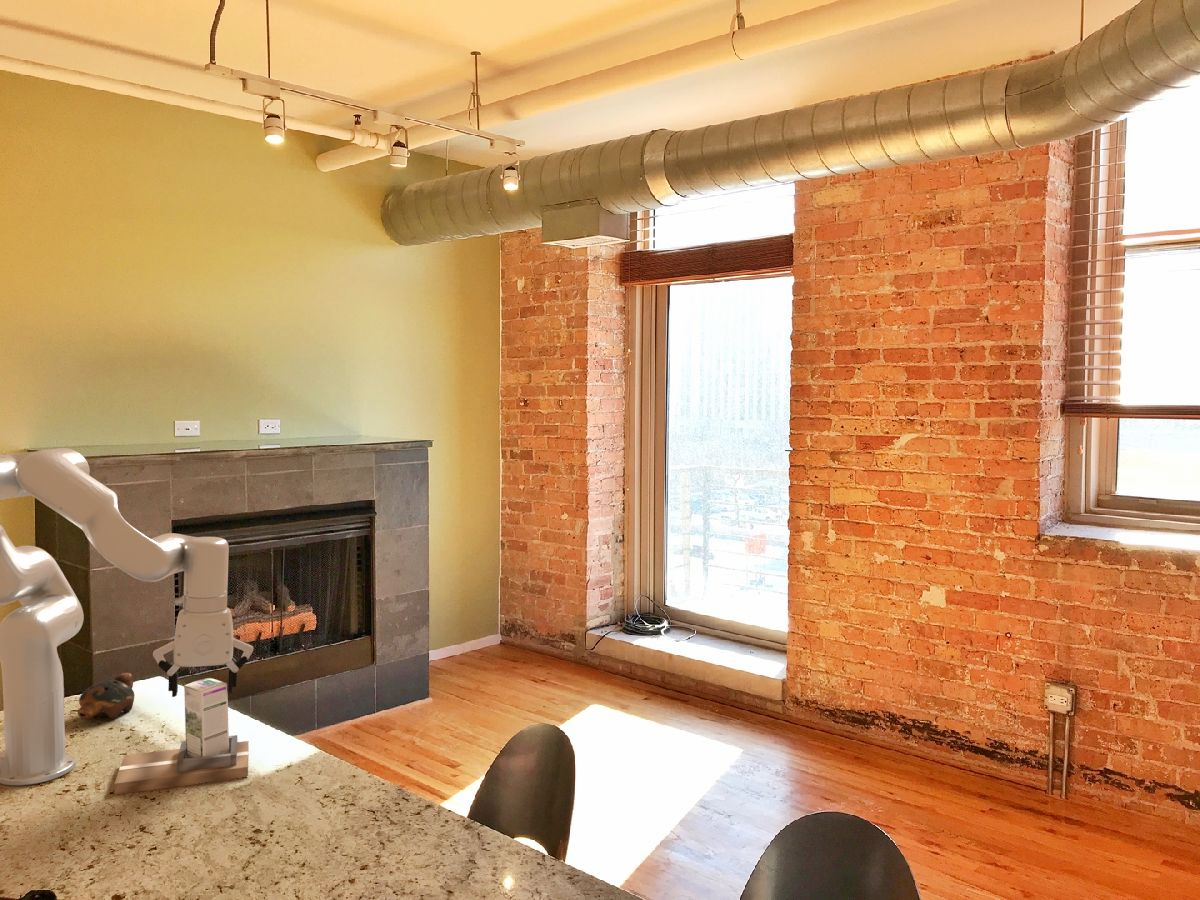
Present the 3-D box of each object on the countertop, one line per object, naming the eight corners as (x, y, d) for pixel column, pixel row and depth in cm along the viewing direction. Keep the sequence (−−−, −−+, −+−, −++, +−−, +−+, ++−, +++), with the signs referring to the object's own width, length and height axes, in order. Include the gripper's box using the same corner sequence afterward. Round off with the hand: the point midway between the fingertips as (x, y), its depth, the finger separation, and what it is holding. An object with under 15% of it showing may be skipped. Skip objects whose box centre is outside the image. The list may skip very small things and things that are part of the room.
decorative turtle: (149, 704, 204) (148, 670, 203) (107, 733, 189) (106, 697, 188) (108, 699, 205) (108, 666, 204) (63, 729, 190) (62, 693, 189)
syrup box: (230, 756, 171) (229, 681, 170) (202, 766, 166) (201, 690, 165) (212, 749, 174) (211, 676, 174) (184, 759, 170) (183, 684, 169)
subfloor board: (114, 794, 159) (114, 772, 159) (124, 765, 171) (124, 745, 171) (247, 777, 167) (247, 756, 167) (248, 750, 179) (248, 731, 179)
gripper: (152, 609, 162) (149, 702, 163) (254, 606, 168) (251, 696, 169) (156, 600, 169) (154, 689, 170) (254, 597, 175) (252, 683, 176)
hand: (202, 692), depth 170 cm, fingers open, 9 cm apart
